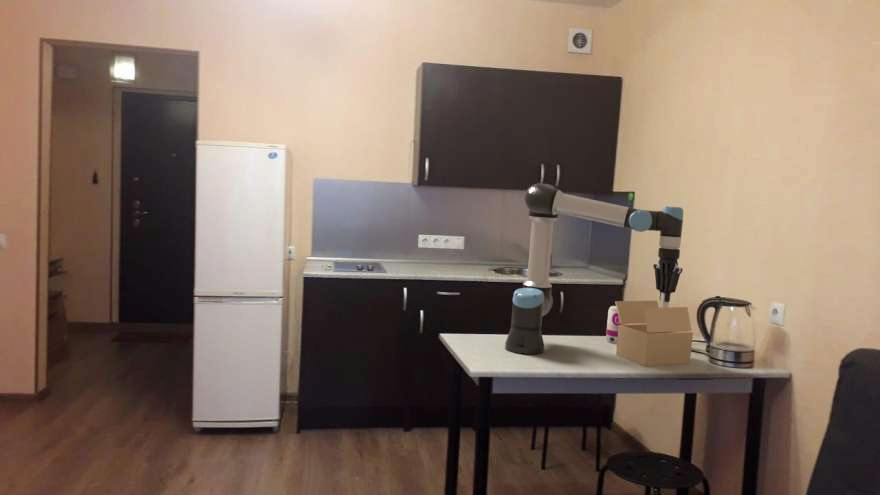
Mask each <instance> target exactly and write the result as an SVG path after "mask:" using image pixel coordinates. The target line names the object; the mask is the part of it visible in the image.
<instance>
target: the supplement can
mask: <svg viewBox="0 0 880 495" xmlns="http://www.w3.org/2000/svg"><path fill="white" fill-rule="evenodd" d="M606 322H607V323H606V333H605V334H606V337H605V340H606V341H607V343H610V344H615V345H617V339H618V327H619V325H628V324H620V320H619V316H618V312H617V308H616V305H611V306H610V307H609V308H608V312H607V321H606Z"/></svg>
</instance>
